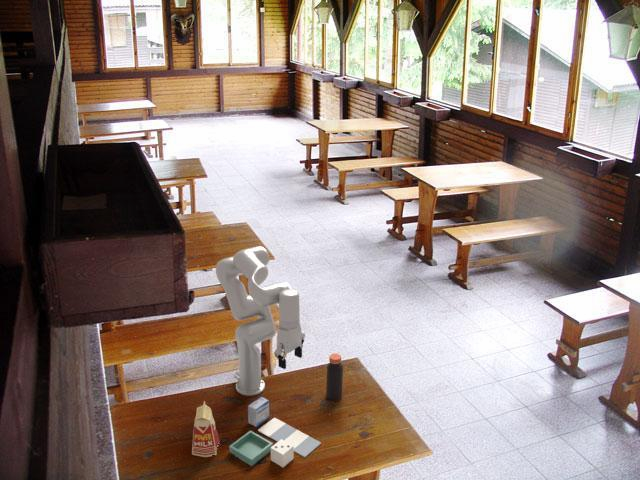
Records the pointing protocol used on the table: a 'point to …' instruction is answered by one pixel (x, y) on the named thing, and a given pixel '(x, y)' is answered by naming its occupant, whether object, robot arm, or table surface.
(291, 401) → the table surface
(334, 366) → the bottle
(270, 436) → the track
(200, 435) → the milk carton
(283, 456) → the die
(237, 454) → the dice tray
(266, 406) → the medicine box
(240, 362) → the robot arm
